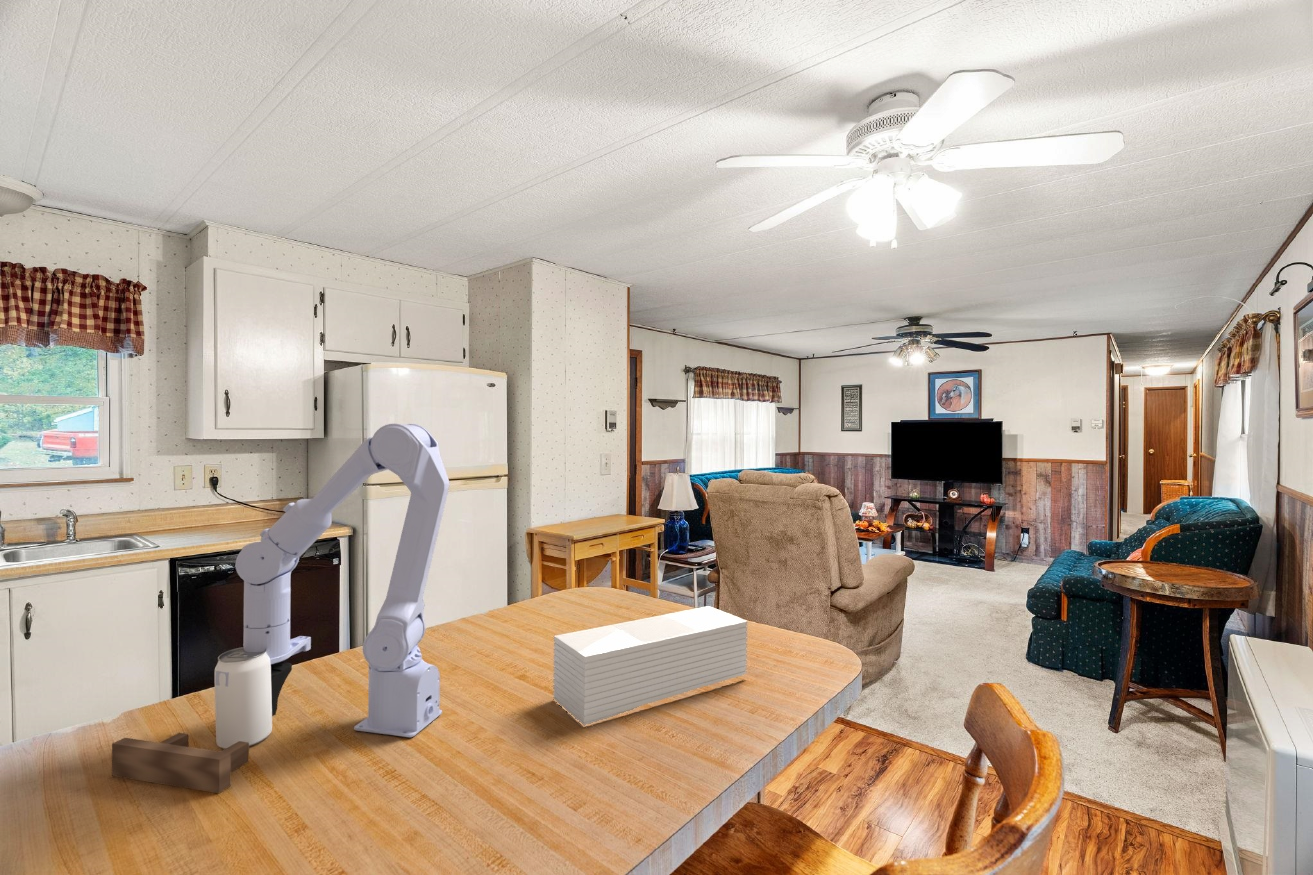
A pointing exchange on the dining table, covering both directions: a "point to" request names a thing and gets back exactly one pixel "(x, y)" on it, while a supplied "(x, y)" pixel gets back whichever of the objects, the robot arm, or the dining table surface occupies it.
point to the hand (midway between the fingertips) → (266, 715)
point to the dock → (178, 762)
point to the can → (243, 698)
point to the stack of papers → (646, 661)
